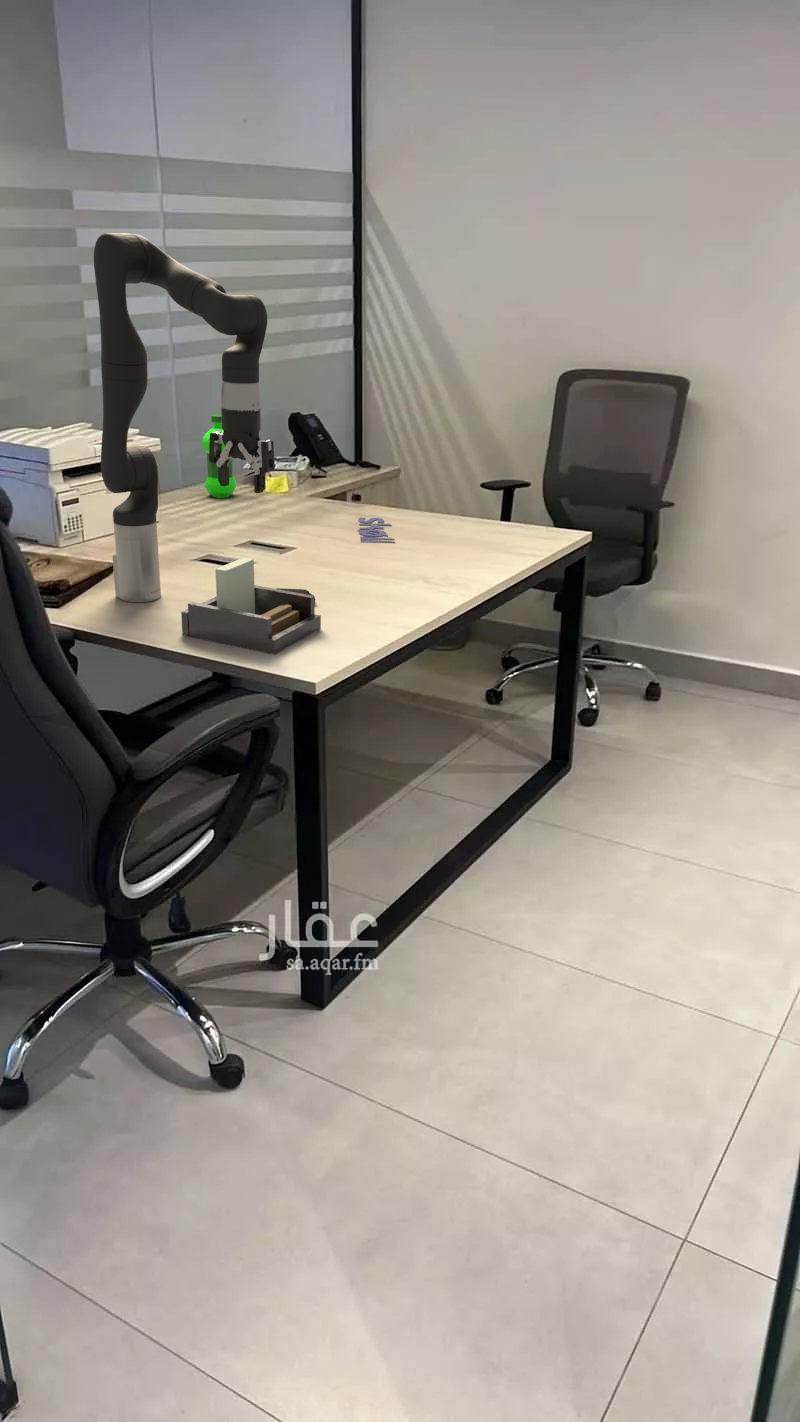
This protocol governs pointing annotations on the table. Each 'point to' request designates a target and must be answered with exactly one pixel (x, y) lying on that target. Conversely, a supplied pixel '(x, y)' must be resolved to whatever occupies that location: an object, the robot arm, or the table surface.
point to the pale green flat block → (236, 586)
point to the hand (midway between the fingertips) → (241, 489)
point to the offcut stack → (282, 618)
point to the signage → (373, 531)
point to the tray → (252, 621)
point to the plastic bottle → (212, 479)
